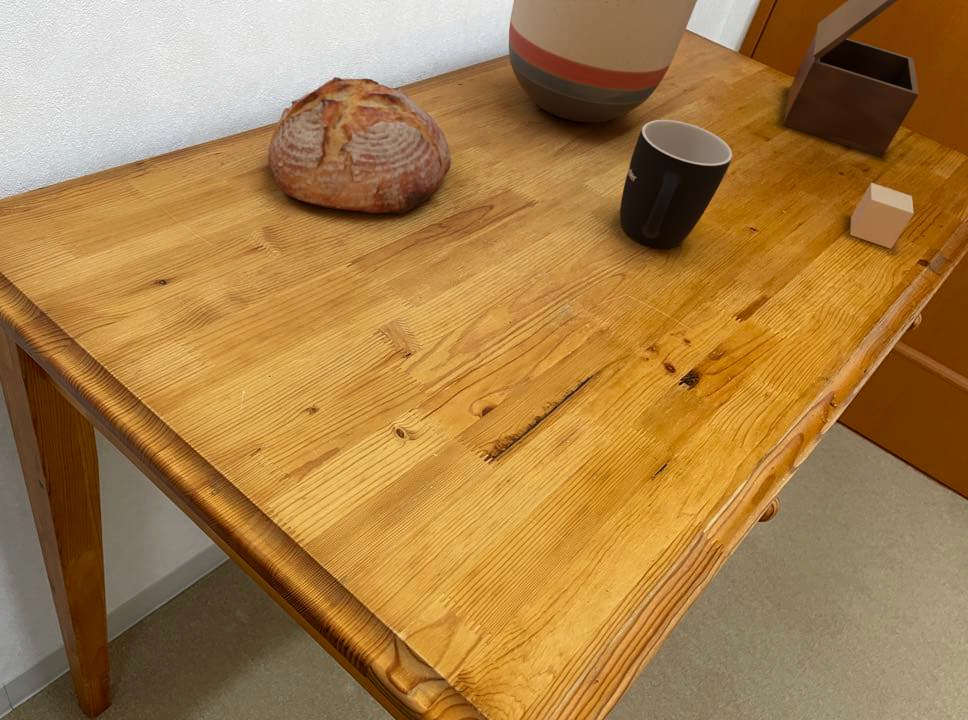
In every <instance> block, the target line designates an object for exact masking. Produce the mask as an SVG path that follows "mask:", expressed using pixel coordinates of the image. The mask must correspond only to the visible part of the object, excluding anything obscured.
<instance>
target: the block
mask: <svg viewBox="0 0 968 720" xmlns="http://www.w3.org/2000/svg"><path fill="white" fill-rule="evenodd" d="M914 211H915V210H914V203H913V196H912V195H910V194H906V193H904V192H901V191H899V190H895V189H893V188H889V187H886V186H883V185H880V184H877V183H873V182H870V184H869V186H868V187H867V189H866V190H865V192H864V194H863V196H862V197H861V199H860V201H859V203H858V204H857V206H856V207H855V209H854V211H853V213H852V215H851V216H850V231H849V233H850V236H853V237H855V238H858V239H861V240H864V241H867V242H870V243H872V244H876V245H878V246H882V247H884V248H887V249H892V248H893V247H894V245H895V244H896V242H897V240H898V239H899V237H900V236H901V235H902V233H903V231H904V229H905V228H906V226H907V225H908V223H909V222H910V221H911V219H912V217H913V216H914V214H915V212H914Z"/></svg>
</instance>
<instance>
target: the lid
mask: <svg viewBox="0 0 968 720" xmlns="http://www.w3.org/2000/svg"><path fill="white" fill-rule="evenodd" d="M898 1H899V0H847V1H845V2H844V3H842V5H839V7H837V8H836V9H835V10H834V11H832V12H831V13H830V14H829V15H827V16H826V17H825V18H824V19H822V20H821V21H820V22H818V23H817V29H816V32H817V35H816V42H815V50H814V57H815V58H816V60H818V59H820V58H821V57H822V56H824V55H825V54H826V53H828V52H829V51H830V50H832V49H833V48H834V47H836V46H837V45H839V44H840V43H841V42H843V41H844V40H845V39H847V38H848V39H849V37H851V36H852V35H853V34H855V33H856V32H858V31H859V30H860V29H862V28H863V27H864V26H866V25H867V24H869V23H870V22H871V21H873V20H874V19H875V18H876V17H878V16H880V15H881V14H882V13H884V11H886V10H887V9H889V8H890V7H891V6H892V5H894V4H895V3H897V2H898Z"/></svg>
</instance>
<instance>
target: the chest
mask: <svg viewBox="0 0 968 720" xmlns="http://www.w3.org/2000/svg"><path fill="white" fill-rule="evenodd" d="M816 35H817V31H816V32H815V34H814V36H813V39H812V41H811V43H810V45H809V47H808V48H807V51H806V53H805V56H804V57H803V59H802V61H801V63H800V66H799V68H798V70H797V72H796V74H795V76H794V77H793V78H794V79H793V80H792V81H791V82H792V83H791V85H790V87H789V90H788V95H787V101H786V105H785V111H784V115H783V122H782V126H783V127H787V128H790V129H793V130H796V131H799V132H802V133H805V134H808V135H810V136H814V137H818V138H821V139H824V140H826V141H830V142H833V143H835V144H839V145H842V146H845V147H848V148H851V149H854V150H857V151H860V152H863V153H866V154H870V155H872V156H876V157H880V158H883V157H884V155H885V154H886V152H887V150H888V148H889V147H890V145H891V143H892V142H893V140H894V138H895V136H896V135H897V134H898V131H899V129H900V127H902V125H903V123H904V121H905V119H906V118H907V116H908V114H909V113H910V111H911V110H912V107H913V106H914V104H915V103H916V100H917V99H918V97H919V95H920V93H919V86H918V80H917V74H916V67H915V62H914V58H913V57H911V56H907V55H903V54H900V53H897V52H894V51H890V50H887V49H884V48H880V47H877V46H875V45H871V44H867V43H864V42H861V41H857V40H854V39H852V38H851V39H850V38H849V37H848V38H847V39H845V40H844V41H843V42H841V43H840V44H839V45H837V46H836V47H834V48H833V49H832V50H830V51H829V52H828V53H826V54H825V55H824V56H822V57H821V58H820V59H818V60H816V58H815V57H814V50H815V42H816Z"/></svg>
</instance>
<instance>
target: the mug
mask: <svg viewBox="0 0 968 720" xmlns="http://www.w3.org/2000/svg"><path fill="white" fill-rule="evenodd" d="M732 160H733V151H732V149H731V148H730V146H729V145H728V144H727V142H725V141H724V140H723V139H722V138H721V137H719V136H717V135H716V134H714V133H713V132H711V131H708V130H706V129H704V128H702V127H700V126H697V125H694V124H690V123H687V122H682V121H679V120H672V119H657V120H656V119H655V120H651V121H649V122H647V123H645V124H644V125H643V126H642V128H641V130H640V132H639V134H638V137H637V140H636V143H635V146H634V149H633V152H632V156H631V160H630V163H629V166H628V170H627V173H626V177H625V181H624V185H623V190H622V195H621V201H620V207H619V223H620V227H621V229H622V230H623V232H624V234H625V235H627V236H628V237H629V238H630V239H631V240H633V241H635V242H637V243H638V244H641V245H643V246H646V247H648V248H653V249H658V250H659V249H661V250H662V249H663V250H665V249H666V250H667V249H673V248H675V247H677V246H678V245H680V244H681V243H682V242H683V241H685V239H686V238H687V237H688V236H689V235H690V234H691V232H692V231H693V230H694V228H695V226H696V225H697V224H698V222H699V221H700V220H701V218H702V216H703V215H704V213H705V212H706V210H707V208H708V206H709V205H710V203H711V201H712V200H713V198H714V196H715V194H716V192H717V191H718V190H719V189H718V188H719V187H720V185H721V183H722V182H723V179H724V177H725V175H726V173H727V171H728V169H729V166H730V164H731V162H732Z"/></svg>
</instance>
